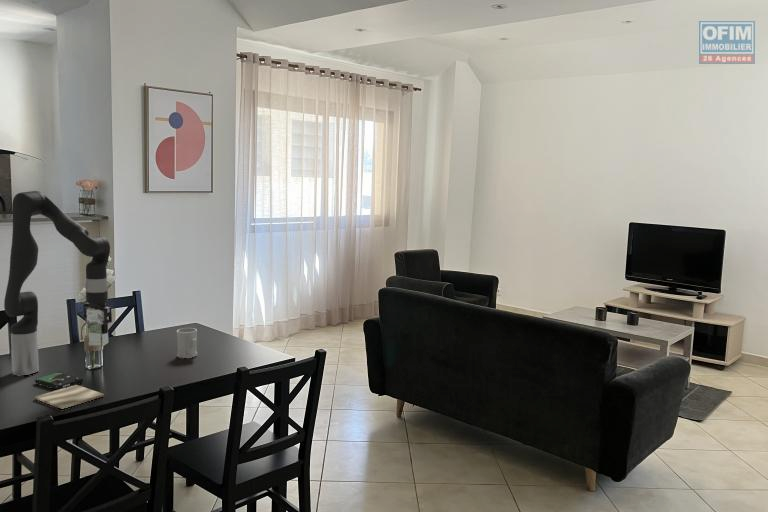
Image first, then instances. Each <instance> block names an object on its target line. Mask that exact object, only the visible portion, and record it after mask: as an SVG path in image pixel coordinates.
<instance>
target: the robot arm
mask: <svg viewBox="0 0 768 512" xmlns="http://www.w3.org/2000/svg"><path fill="white" fill-rule="evenodd" d="M11 208H12V210H11V211H12V214H11V215H12V233H11V234H12V239H11V247H10V248H11V249H10V257H9V271H8V272H9V274H8V281H7V286H6V290H5V296H4V302H3V303H4V304H3V306H4V307H3V308H4V312H5V314H6V315H7V316H8V317H9V318H12V317H13V318H15V317H21V319H20V320H18V321H17V322H15V323H13V324H11V326H10V329H9V330H10V345H11V346H10V347H11V351H10V353H11V372H12V371H13V373H12V375H13V374H16V375H22V374H30V373H35V372H37V371H39V372H40V370H39V369H40V368H39V363H40V362H39V347H38V346H39V344H38V325H39V323H38V322H39V320H38V319H39V318H38V317H39V316H38V315H39V301H38V297H37V295H36V293H35V292H33V291H23V292H21V291H22V287H23V285H24V283H25V282H26V280H27V279H28V278H29V276H30V275H31V274H32V272H33V271H34V270H35V268H36V266H37V264H38V257H39V246H38V243H37V241H36V240H35V238H34V236H33V234H32V231H31V220H32V219H31V218H32V216H33V217H34V216H39V215H41V216H43V217H46V218H48V219H49V220H51V222H52V223H53V226H54V227H55V229H56V231H57V232H58V234H60V235H61V236H62V237H64V238H65V239H67V240H68V241H69V242H71V243H73V245H74V246H75V247H76V249H77V250H78V251H79V252H80V253H81V254H83V255H84V256H86V257H90V258H91V257H92V259H91V261H90V262H88V263H87V264H86V266H85V278H86V279H85V302H84V303H83V309H82V310H83V318H84V319H86V321H87V309H88V308H94V309H95V310H97V309H98V310H101V311H103V313H104V316H102V317H101V316H100V315H99V314H98V319H100V321H101V333H102V334H106V333H108V334H109V324H110V323H112V322H113V318H112V317H113V316H112V307H111V306H106V303H107V302H108V300H109V299H108V298H109V296H108V295H109V290H108V286H109V285H108V279H107V277H108V275H107V265H108V262H109V259H110V258H109V257H110V254H111V252H110V251H111V246H110V244H111V243H110V242H109V240H108V238H106V237H104V236H95V237H90V236H89V230H88V229H87V228H86V227H84V226H83V225H81V224H80V223H78V222H77V221H75V220H74V219H73V218H71V217H70V216H68V215H67V214H66V213H65V212H64V211H63V210H62V209H61V208H60V207H59V206H58V205H57V204H55V202H54V201H53V200H52V199H51V198H49V197H48V196H47V195H46V194H44V193H43V192H42V191H39V190H30V191H24V192H23V191H22V192H19V193H16V194H15V195H14V197H13V199H12V207H11ZM107 317H108V318H107ZM103 319H104V321H103Z"/></svg>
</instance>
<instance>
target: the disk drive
mask: <svg viewBox="0 0 768 512" xmlns="http://www.w3.org/2000/svg"><path fill="white" fill-rule="evenodd" d="M35 382H36V383H38V384H42V385H45V386H48V387H52V388H55V389H59V390H60V389H63V388H66V387H70V386H73V385H76V384H79V383H83V384H84V377H80V376H77V375H72V374H69V373H65V372H61V371H57V372H54V373H50V374H47V375H45V376H44V375H43V376H41V377H36V378H35V379H34V383H35Z"/></svg>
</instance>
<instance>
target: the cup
mask: <svg viewBox="0 0 768 512" xmlns="http://www.w3.org/2000/svg"><path fill="white" fill-rule="evenodd" d="M176 336H177V337H176V338H177V352H176V357H178V358H179V359H184V358H187V359H193V358H195V356H196V357H197V356H198V351H197V348H198V339H197V336H198V329H197V328H196V327H195V328H194V327H183V328H179V329H177V330H176ZM192 357H193V358H192Z"/></svg>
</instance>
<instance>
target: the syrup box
mask: <svg viewBox="0 0 768 512" xmlns="http://www.w3.org/2000/svg"><path fill="white" fill-rule="evenodd" d="M98 314H99V315H100V316H101V317H102V316H104V313H103V311H101V310H98V309H97V310H95V309H94V308H88V309H87V313H86V315H87V320H86V328H87V330H86V331H87V347H104V346H106V345H107V344H108V343H109V332H108V333H106V334H102V333H101V321H100V319H98ZM107 318H108V319H109V317H107ZM103 321H104V319H103Z"/></svg>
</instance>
